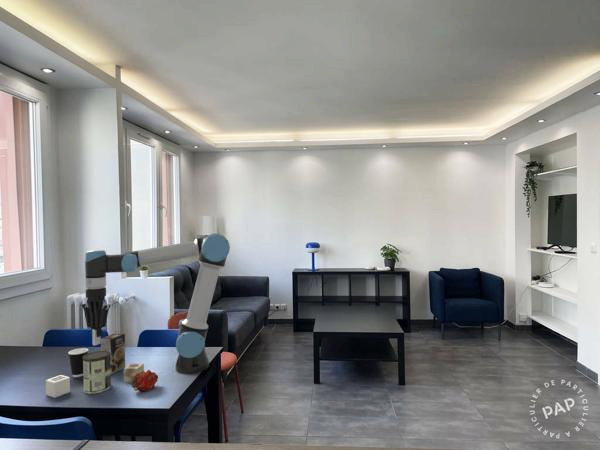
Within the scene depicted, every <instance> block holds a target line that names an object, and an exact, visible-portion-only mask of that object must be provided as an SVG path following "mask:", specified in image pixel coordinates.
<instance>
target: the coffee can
mask: <svg viewBox="0 0 600 450" xmlns="http://www.w3.org/2000/svg"><path fill="white" fill-rule="evenodd" d="M110 355H111V352H109V351H101V350H99V351H98V350H97V351H93V352H88V353H87V354H86V355H84V356H83V373H84V375H83V393H85V394H89V395H91V394H92V395H93V394H99V393H103V392H106V391H108V390H109V389H111V388H112V374H111V356H110Z"/></svg>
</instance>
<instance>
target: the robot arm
mask: <svg viewBox="0 0 600 450" xmlns="http://www.w3.org/2000/svg"><path fill="white" fill-rule="evenodd" d="M230 248H231V246H230V241H229V240H228V239H227V238H226V237H225V236H224V235H223V234H220V233H211V234H209V235H206V236H203V237H197V238H195V240H194V241H187V242H181V243H175V244H174V243H173V244H168V245H164V246H163V245H162V246H156V247H150V248H145V249H140V250H134V251H125V252H124V253H121V254H120V253H119V254H107V251H106V250H104V249H97V250H96V249H94V250H88V251H86V252H85V260H84V266H85V267H84V268H85V288H86V289H85V298H86V302H85V303H82V304H81V307H82V309H83V312H84V318H85V323H86V327H87V328H90V330H91V337H92V340H91V341H92V342H91V343H92V346H98V345H101V337H102V335H103V334H102V329H103V328H106V326H107V321H108V317H109V316H108V315H109V310H110V309H111V307H112V305H111V304H108V303H107V302H106V301H107V300H106V296H107V287H106V286H107V274H111V273H127V274H128V273H133V272H136V271H137V269H138V268H141V267H146V266H152V265H153V266H154V265H157V264H164V263H169V262H176V261H181V260H186V259H192V258H193V259H194V258H198V263H199V264H200V267H199V269H198V274H197V278H196V281H195V285H194V288H193V289H194V290H193V293H192V297H191V301H190V303H189V307H188V311H187V315H186V318H182V319H180V320H179V321H178V335H177V338H176V341H175V349H176V351H177V353H178V356H177V359H176V362H175V371H176V372H177V373H180V374H195V373H200V372H203V371H204V370H207V369H208V368H209V367H210V361H209V358H208V355H207V351H206V348H205V347H206V343H205V341H206V337H207V333H208V329H209V324H208V323H207V320H208V317H209V312H210V309H211V305H212V302H213V301H212V300H213V297H214V293H215V291H216V290H215V289H216V286H217V282H218V279H219V274H220V271H221V270H222V269H223V268H224V267H225V265H226V262H227V257H228V255H229V253H230V251H231V249H230Z"/></svg>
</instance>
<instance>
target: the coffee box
mask: <svg viewBox="0 0 600 450" xmlns="http://www.w3.org/2000/svg"><path fill="white" fill-rule="evenodd" d="M100 351H109V352H111V355H110V356H111V375H113V374H115V373H117V372H119V371H121V370H122V369H123V370H124V368H125V367H126V335H125V333H111V334H109V335H107V336H104V337H102V338H101V344H100Z"/></svg>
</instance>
